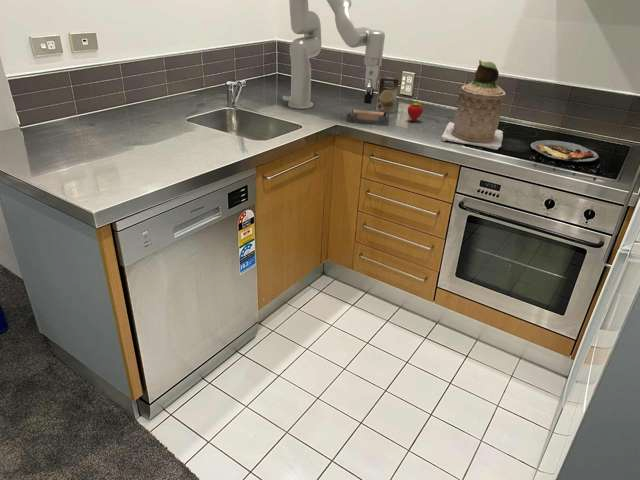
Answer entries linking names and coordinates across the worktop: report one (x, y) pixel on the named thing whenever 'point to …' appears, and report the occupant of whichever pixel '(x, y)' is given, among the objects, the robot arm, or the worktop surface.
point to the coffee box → (387, 94)
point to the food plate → (565, 151)
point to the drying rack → (353, 118)
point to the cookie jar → (478, 110)
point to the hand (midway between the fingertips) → (368, 100)
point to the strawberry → (415, 111)
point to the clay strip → (368, 115)
